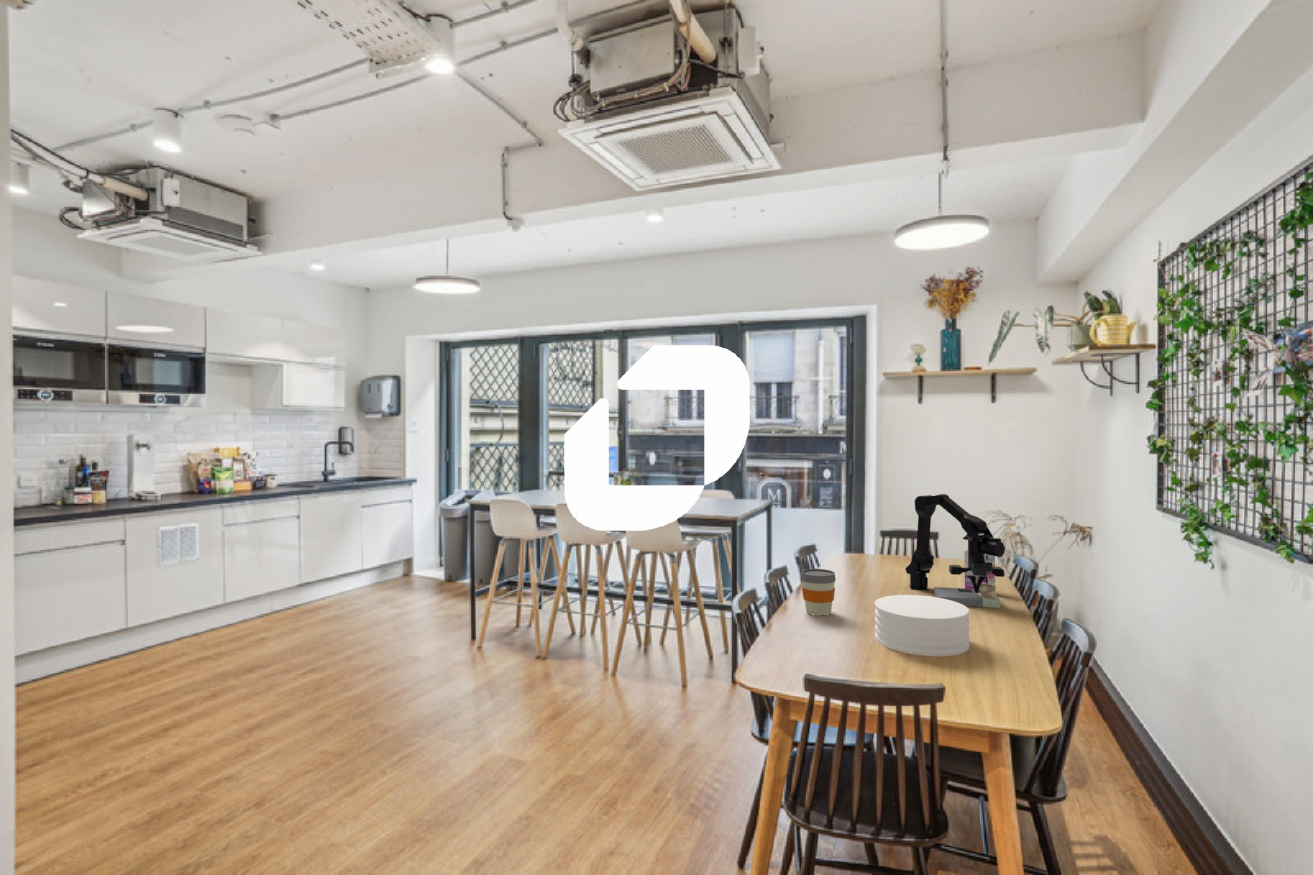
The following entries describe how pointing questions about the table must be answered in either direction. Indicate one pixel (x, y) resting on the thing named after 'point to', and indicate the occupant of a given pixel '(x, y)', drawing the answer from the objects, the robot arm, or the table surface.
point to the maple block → (988, 590)
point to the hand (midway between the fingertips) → (976, 592)
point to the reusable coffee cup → (818, 590)
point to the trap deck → (966, 597)
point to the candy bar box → (967, 580)
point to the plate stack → (922, 625)
